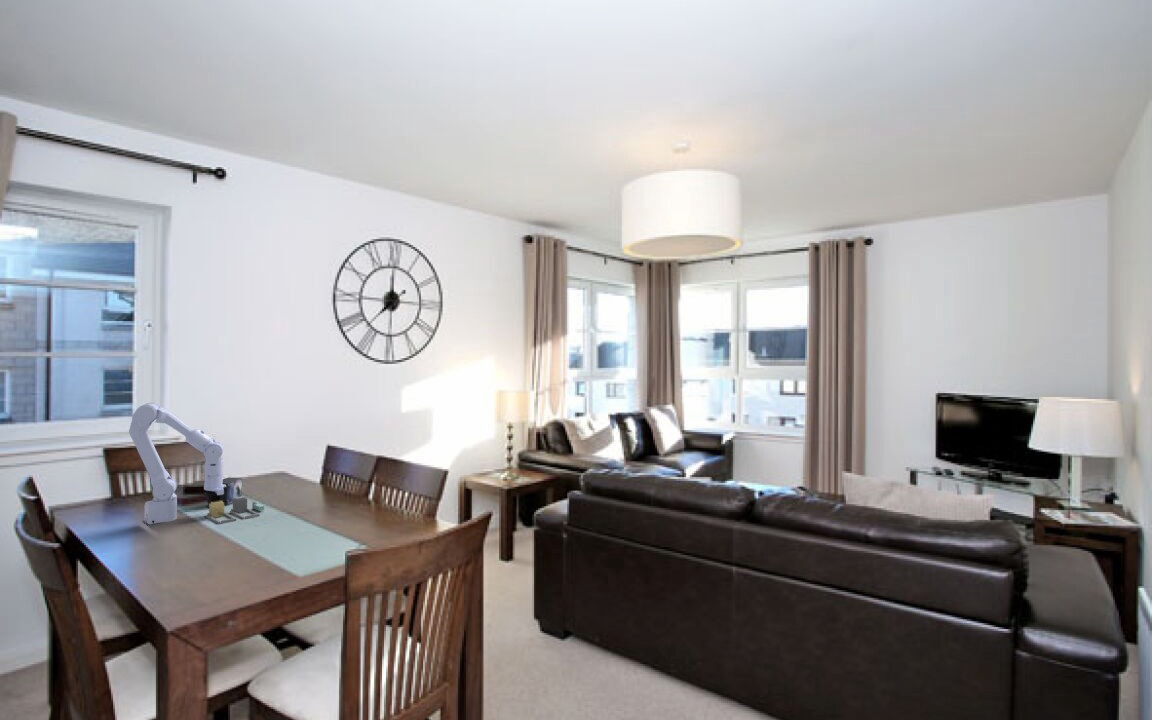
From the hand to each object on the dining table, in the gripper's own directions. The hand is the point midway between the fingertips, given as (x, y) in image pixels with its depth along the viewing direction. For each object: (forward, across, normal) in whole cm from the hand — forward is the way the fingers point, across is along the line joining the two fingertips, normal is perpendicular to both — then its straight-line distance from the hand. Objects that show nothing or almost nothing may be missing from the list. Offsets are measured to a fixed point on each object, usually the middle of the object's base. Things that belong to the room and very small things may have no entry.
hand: (213, 510), depth 220 cm
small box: (+3, +16, -10) cm, 19 cm away
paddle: (+1, -6, -13) cm, 15 cm away
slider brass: (+1, -3, 0) cm, 4 cm away
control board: (+3, -7, -5) cm, 9 cm away
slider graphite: (+1, -3, -8) cm, 9 cm away
